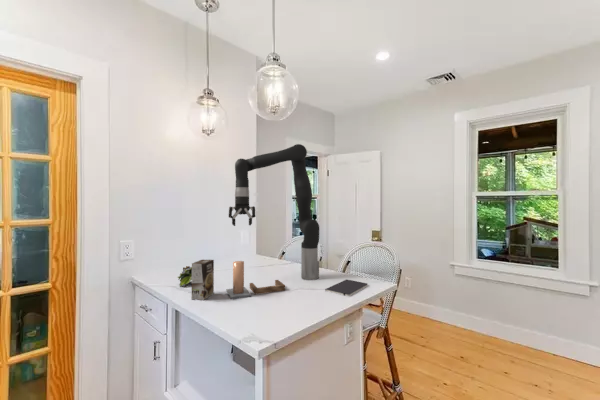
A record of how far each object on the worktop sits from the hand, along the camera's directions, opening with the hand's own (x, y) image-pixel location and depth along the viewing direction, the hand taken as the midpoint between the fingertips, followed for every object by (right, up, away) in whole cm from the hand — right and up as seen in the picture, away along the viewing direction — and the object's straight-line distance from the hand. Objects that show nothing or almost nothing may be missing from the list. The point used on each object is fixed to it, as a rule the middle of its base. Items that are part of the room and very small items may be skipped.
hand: (242, 225), depth 157 cm
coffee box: (-13, -30, -25) cm, 42 cm away
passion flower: (-26, -30, -6) cm, 41 cm away
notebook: (+55, -31, -13) cm, 65 cm away
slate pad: (+3, -30, -22) cm, 37 cm away
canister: (+3, -29, -22) cm, 37 cm away
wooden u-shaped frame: (+15, -30, -14) cm, 36 cm away
